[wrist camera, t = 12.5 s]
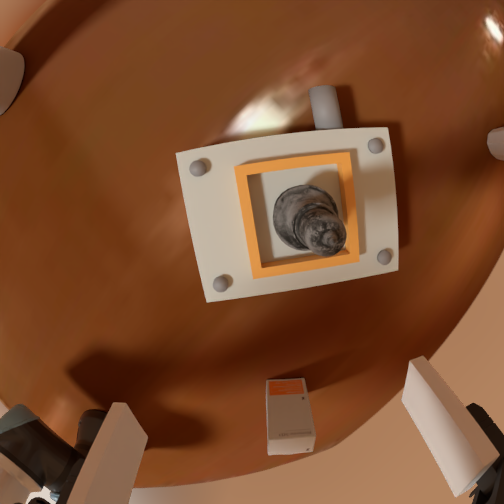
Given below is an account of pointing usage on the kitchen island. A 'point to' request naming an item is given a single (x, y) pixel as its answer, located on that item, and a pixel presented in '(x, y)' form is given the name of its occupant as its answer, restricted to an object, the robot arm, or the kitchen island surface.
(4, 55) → the cylinder vase
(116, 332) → the kitchen island surface
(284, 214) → the chess piece
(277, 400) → the skincare box
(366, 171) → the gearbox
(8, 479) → the robot arm
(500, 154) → the low poly bottle
